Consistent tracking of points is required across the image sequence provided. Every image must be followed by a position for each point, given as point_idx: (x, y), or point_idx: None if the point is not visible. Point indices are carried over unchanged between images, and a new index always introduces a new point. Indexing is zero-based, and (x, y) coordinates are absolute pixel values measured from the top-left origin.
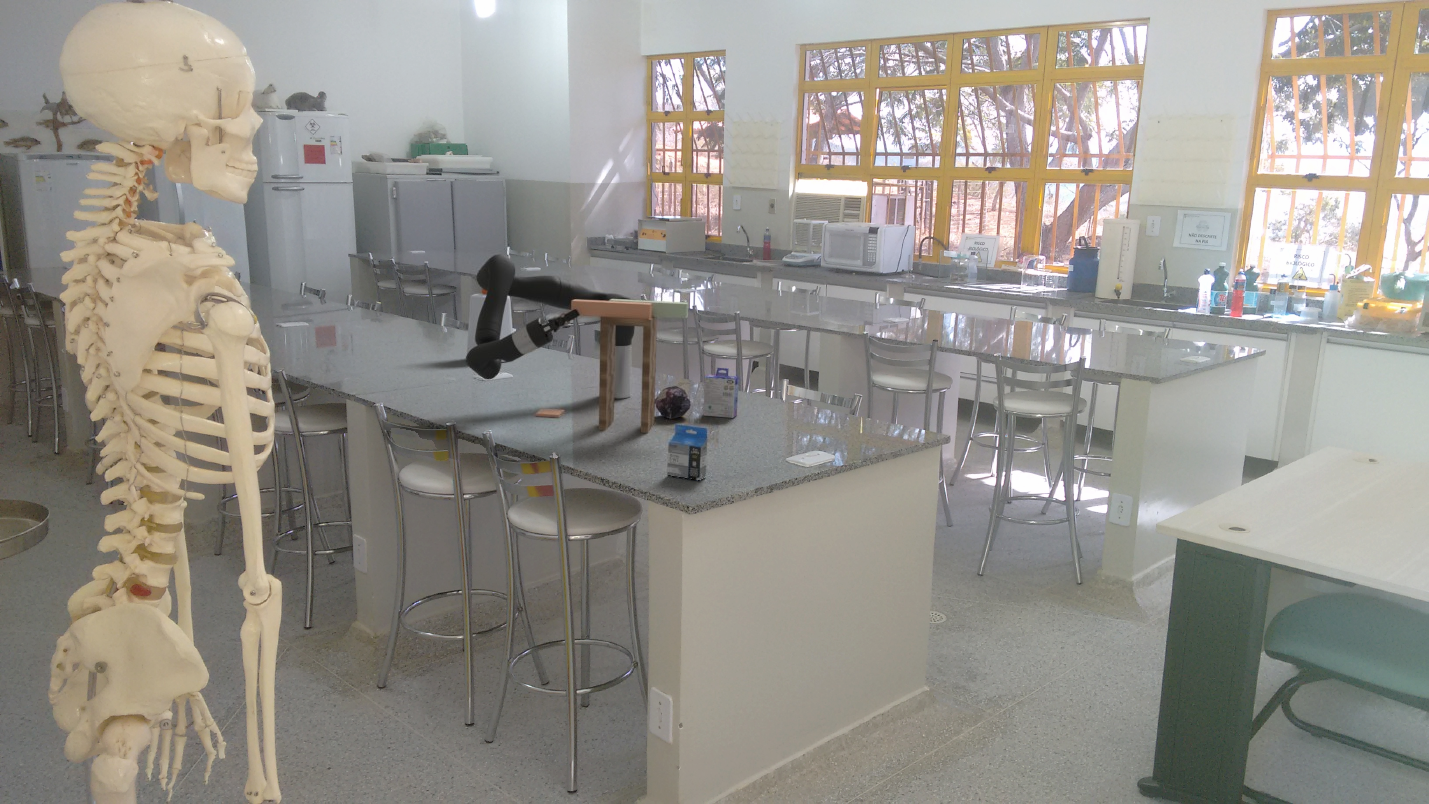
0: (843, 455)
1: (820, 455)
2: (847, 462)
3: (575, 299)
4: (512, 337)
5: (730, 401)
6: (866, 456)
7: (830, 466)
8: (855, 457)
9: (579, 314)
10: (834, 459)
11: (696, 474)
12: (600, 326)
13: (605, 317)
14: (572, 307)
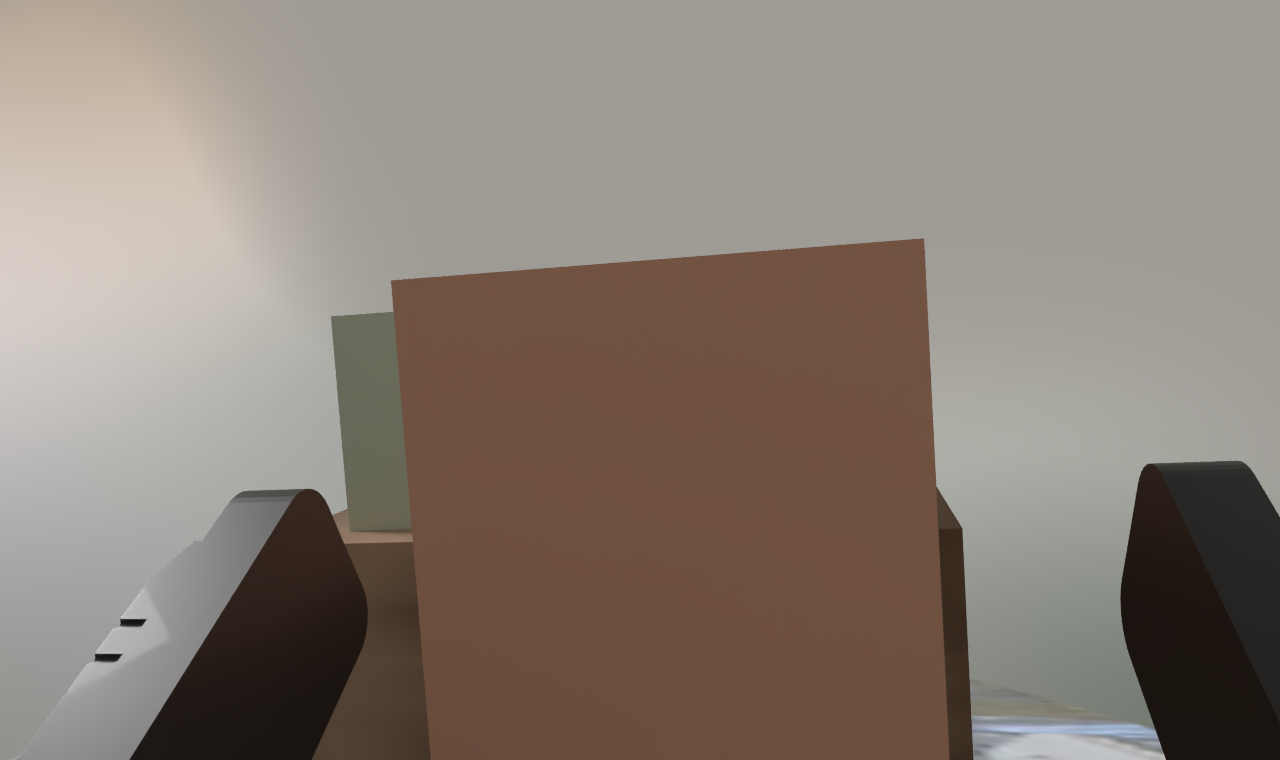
0: (1017, 721)
1: (1052, 754)
2: (1104, 717)
3: (445, 278)
4: None
5: None
6: (999, 692)
7: None
8: (1027, 706)
9: (1133, 598)
10: (1086, 734)
11: None
12: (969, 689)
13: (948, 511)
14: (929, 489)
